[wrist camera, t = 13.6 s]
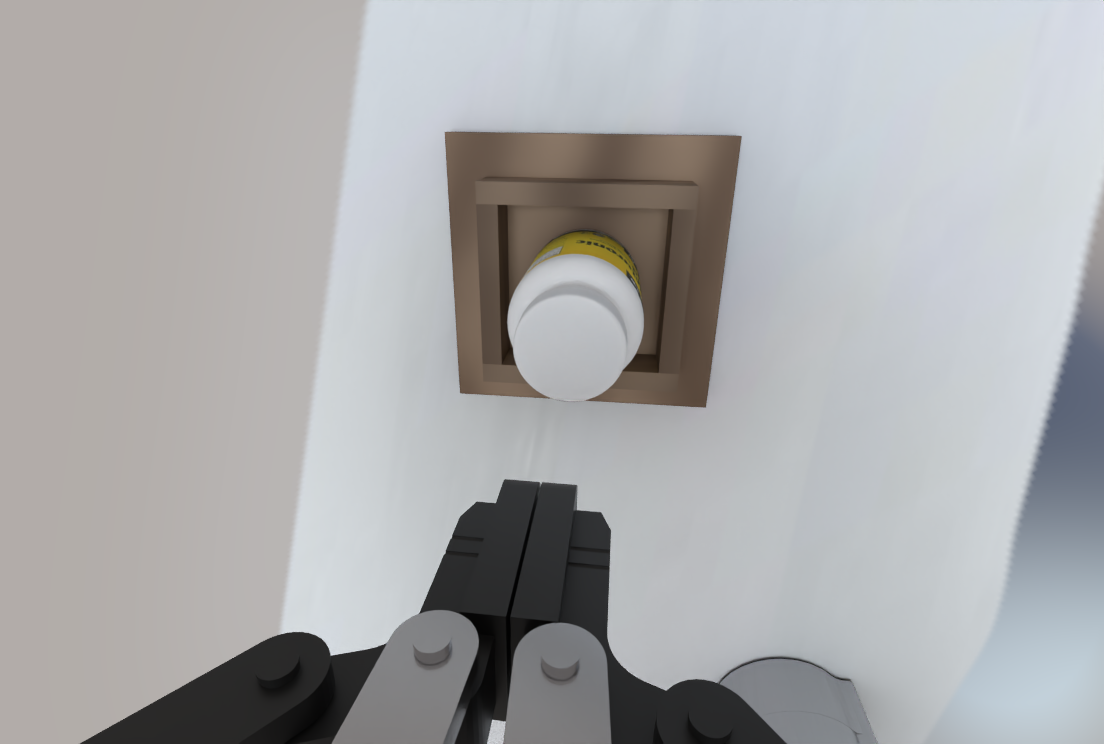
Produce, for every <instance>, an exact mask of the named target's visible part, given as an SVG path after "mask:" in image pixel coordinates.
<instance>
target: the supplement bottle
mask: <svg viewBox="0 0 1104 744" xmlns="http://www.w3.org/2000/svg"><path fill="white" fill-rule="evenodd" d="M507 324H508V333H509V338H510V341H511V344H512V347H513V353H514V359H515V362H516V365H517V367H518V370H519V371H520V373H521V375H522V376H523V378H524V379H525V380H526V382H527V383H528V384H529V385H530V386H531V387H533V388H534V389H535V390H536V391H538V392H539V393H541V394H543V395H545V396H547V397H550V398H552V399H556V400H560V401H568V402H578V401H584V400H588V399H591V398H594V397H596V396H598V395H600V394H602V393H603V392H605V391H606V390H607V389H609V388H610V387H611V386H612V385H613V384H614V383H615V381H616V380H617V379H618V377H619V376H620V374H621V372H622V370H623V369H624V368H625V367H626V366H627V365H628V364H629V363H630V362H631V360H632V359H633V358H634V356H635V354H636V352H637V350H638V348H639V345H640V343H641V340H642V336H643V329H644V310H643V304H642V296H641V288H640V280H639V274H638V270H637V267H636V265H635V262H634V260H633V258H632V256H631V255H630V253H629V252H628V250H627V249H626V248H625V247H624V246H623V245H622V244H621V243H620V242H619V241H618V240H616V239H615V238H613V237H611V236H610V235H608V234H605V233H603V232H600V231H595V230H589V229H580V230H573V231H569V232H566V233H564V234H562V235H560V236H558V237H556V238H554V239H553V240H551V241H550V242H549V243H548V244H547V245H546V246H545V247H544V248H543V249H542V250H541V251H540V252H539V254H538V255H537V257H536V258H535V260H534V261H533V263H532V264H531V266H530V267H529V269H528V270H527V272H526V274H525V275H524V277H523V278H522V280H521V281H520V283H519V284H518V286H517V288H516V289H515V291H514V294H513V296H512V299H511V302H510V305H509V310H508V319H507Z"/></svg>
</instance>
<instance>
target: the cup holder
mask: <svg viewBox="0 0 1104 744" xmlns="http://www.w3.org/2000/svg"><path fill="white" fill-rule="evenodd" d="M741 137H742V136H715V135H642V134H569V133H496V132H445V144H446V161H447V178H448V195H449V212H450V229H451V246H452V263H453V280H454V297H455V314H456V331H457V348H458V365H459V382H460V393H465V394H483V395H500V396H517V397H534V398H550V397H547V396H545V395H543V394H541V393H539V392H538V391H536V390H535V389H534V388H533V387H531V386H530V385H529V384H528V383H527V382H526V380H525V379H524V378H523V376H522V375H521V373H520V371H519V370H518V367H517V365H516V362H515V359H514V353H513V347H512V344H511V341H510V338H509V333H508V324H507V319H508V310H509V305H510V302H511V299H512V296H513V294H514V291H515V289H516V288H517V286H518V284H519V283H520V281H521V280H522V278H523V277H524V275H525V274H526V272H527V270H528V269H529V267H530V266H531V264H532V263H533V261H534V260H535V258H536V257H537V255H538V254H539V252H540V251H541V250H542V249H543V248H544V247H545V246H546V245H547V244H548V243H549V242H550V241H551V240H553V239H554V238H556V237H558V236H560V235H562V234H564V233H566V232H569V231H573V230H580V229H589V230H595V231H600V232H603V233H605V234H608V235H610V236H611V237H613V238H615V239H616V240H618V241H619V242H620V243H621V244H622V245H623V246H624V247H625V248H626V249H627V250H628V252H629V253H630V255H631V256H632V258H633V260H634V262H635V265H636V267H637V270H638V274H639V280H640V288H641V296H642V304H643V310H644V329H643V336H642V340H641V343H640V345H639V348H638V350H637V352H636V354H635V356H634V358H633V359H632V360H631V362H630V363H629V364H628V365H627V366H626V367H625V368H624V369H623V370H622V372H621V374H620V376H619V377H618V379H617V380H616V381H615V383H614V384H613V385H612V386H611V387H610V388H609V389H607V390H606V391H605V392H603V393H602V394H600V395H598V396H596V397H594V398H591V399H588V400H586V401H603V402H620V403H637V404H655V405H672V406H689V407H706V402H707V395H708V387H709V380H710V372H711V364H712V357H713V349H714V342H715V334H716V326H717V319H718V311H719V304H720V296H721V288H722V281H723V273H724V266H725V258H726V250H727V243H728V235H729V228H730V220H731V212H732V205H733V197H734V190H735V182H736V175H737V167H738V159H739V152H740V144H741ZM551 399H552V398H551Z"/></svg>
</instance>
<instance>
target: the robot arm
mask: <svg viewBox="0 0 1104 744" xmlns="http://www.w3.org/2000/svg"><path fill="white" fill-rule="evenodd" d="M610 539H611V530H610V528H609V526H608V524H607V522H606V521H605V519H604V517H603V515H602V513H601V512H590V511H579V510H577V485H568V484H556V483H544V482H542V484H541V486H540V482H530V481H518V480H506V479H505V480H504V482H503V484H502V487H501V490H500V493H499V496H498V499H497V502H496V503H485V502H476V503H475V504H474V505H473V506H472V507H470V508H469V509H468V510H467V511H466V512H465V513H464V514H463V515H462V516H460V518H459V521H458V523H457V525H456V528H455V530H454V533H453V535H452V539H451V540H450V542H449V544H448V547H447V549H446V554H444V556H443V559H442V561H441V563H440V566H439V568H438V570H437V573H436V575H435V578H434V580H433V582H432V585H431V587H430V589H429V592H428V594H427V597H426V599H425V601H424V604H423V606H422V608H421V611H420V613H419V614H418V615H415V616H413V617H411V618H410V619H408V620H406V621H405V622H404V623H402V624H401V625H400V626H399V627H398V628H397V629H396V630H395V631H394V633H393V634H392V636H391V637H390V639H389V641H388V642H387V643H386V644H384V645H381V646H378V647H376V648H372V649H367V650H362V651H356V652H350V653H344V654H339V655H333V656H330V652H329V648H328V646H327V645H326V643H325V642H324V641H323V640H322V639H321V638H319V637H317V636H316V635H313V634H310V633H304V632H292V633H285V634H281V635H277V636H274V637H272V638H269V639H267V640H265V641H263V642H261V643H259V644H258V645H256V646H254V647H252V648H250V649H249V650H247V651H245V652H243V653H241V654H240V655H238V656H236V657H234V658H232V659H231V660H229V661H227V662H225V663H224V664H222V665H220V666H218V667H216V668H214V669H213V670H211V671H209V672H207V673H205V674H204V675H202V676H200V677H198V678H196V679H195V680H193V681H191V682H189V683H188V684H186V685H184V686H182V687H181V688H179V689H177V690H175V691H173V692H171V693H170V694H168V695H166V696H164V697H162V698H161V699H159V700H157V701H155V702H154V703H152V704H150V705H148V706H146V707H145V708H143V709H141V710H139V711H138V712H136V713H134V714H132V715H130V716H128V717H127V718H125V719H123V720H121V721H120V722H118V723H116V724H114V725H112V726H111V727H109V728H107V729H105V730H103V731H102V732H100V733H98V734H96V735H94V736H93V737H91V738H89V739H88V740H86V741H84V742H82V743H80V744H487V740H488V736H489V731H490V727H491V723H492V720H499V721H506V725H505V733H504V742H503V744H878V743H877V740H876V738H875V735H874V733H873V731H872V728H871V726H870V723H869V721H868V718H867V716H866V714H865V711H864V709H863V706H862V704H861V702H860V699H859V697H858V694H857V692H856V689H855V687H854V685H853V683H852V682H851V681H844V680H839V679H836V678H834V677H833V676H831V675H830V674H828V673H827V672H826V671H824V670H823V669H821V668H818V667H816V666H814V665H812V664H809V663H805V662H801V661H798V660H789V659H768V660H763V661H758V662H753V663H750V664H748V665H745V666H742V667H740V668H738V669H737V670H735V671H733V672H731V673H730V674H729V675H728V676H727V677H726V678H724V679H723V680H722V681H721V683H720V684H718V683H715V682H711V681H707V680H698V679H695V680H686V681H683V682H679V683H677V684H675V685H673V686H672V687H671V688H669V689H668V690H667V691H665V690H663V689H660V688H658V687H656V686H653V685H651V684H649V683H646V682H644V681H642V680H640V679H638V678H636V677H635V676H633V675H632V674H630V673H629V672H628V671H627V670H626V669H624V668H623V667H622V666H621V665H620V663H619V662H618V661H617V660H616V658H615V657H614V655H613V654H612V651H611V649H610V647H609V643H608V639H607V621H608V594H609V566H610Z"/></svg>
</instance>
